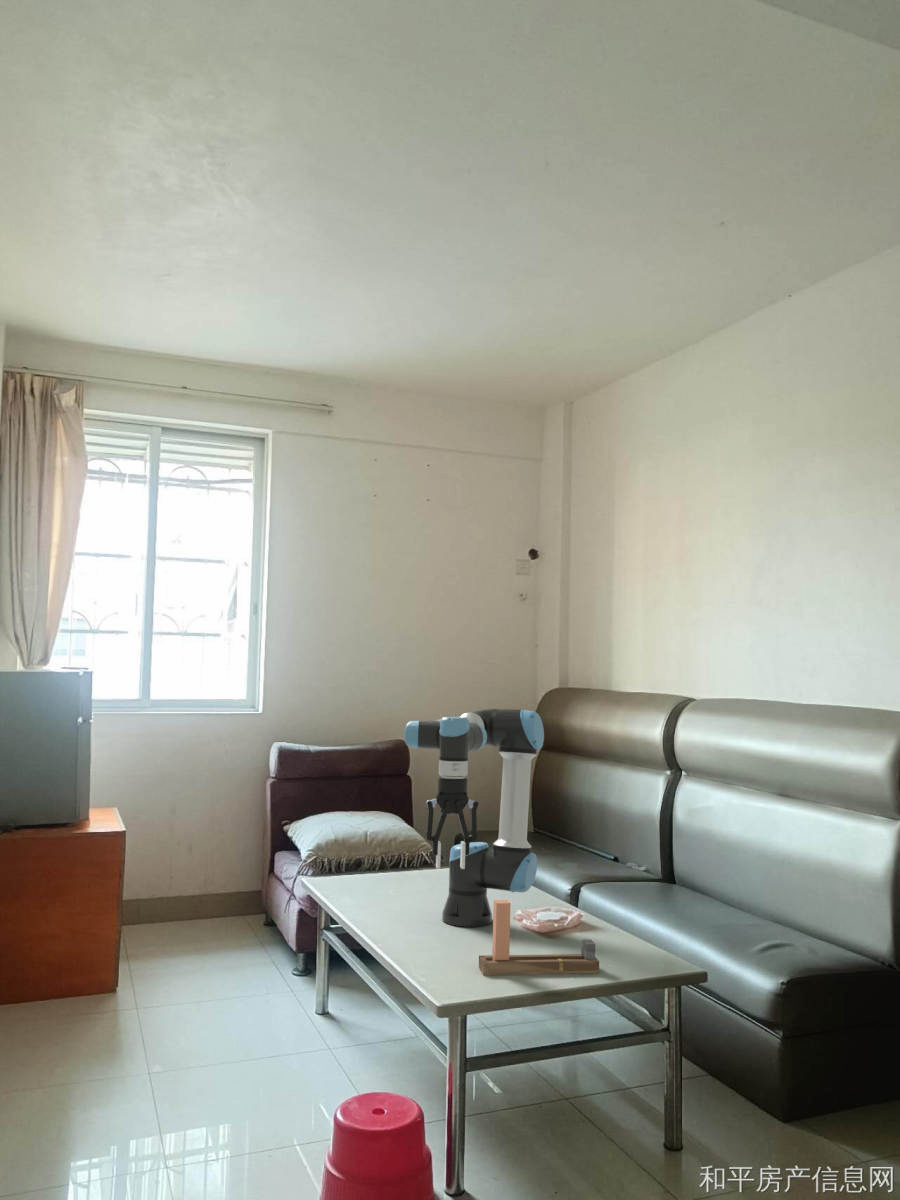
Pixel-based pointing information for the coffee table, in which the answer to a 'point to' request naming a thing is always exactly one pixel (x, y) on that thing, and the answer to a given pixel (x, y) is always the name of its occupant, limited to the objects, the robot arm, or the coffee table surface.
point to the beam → (543, 963)
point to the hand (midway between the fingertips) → (450, 867)
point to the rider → (501, 930)
